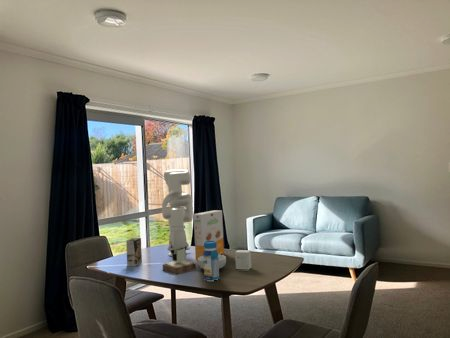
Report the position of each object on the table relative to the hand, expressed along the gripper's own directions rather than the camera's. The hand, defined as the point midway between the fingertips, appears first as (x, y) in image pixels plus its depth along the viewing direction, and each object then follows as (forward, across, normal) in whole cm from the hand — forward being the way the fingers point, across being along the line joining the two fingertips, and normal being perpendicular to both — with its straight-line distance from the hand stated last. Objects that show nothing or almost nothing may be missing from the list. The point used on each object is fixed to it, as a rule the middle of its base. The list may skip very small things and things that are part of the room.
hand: (178, 259), depth 217 cm
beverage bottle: (+6, 0, +30) cm, 31 cm away
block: (+1, 0, 0) cm, 1 cm away
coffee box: (+6, +11, -34) cm, 36 cm away
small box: (+7, -25, +29) cm, 39 cm away
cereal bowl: (+7, -13, +15) cm, 21 cm away
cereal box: (+6, -32, -10) cm, 34 cm away
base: (+6, 0, 0) cm, 6 cm away
